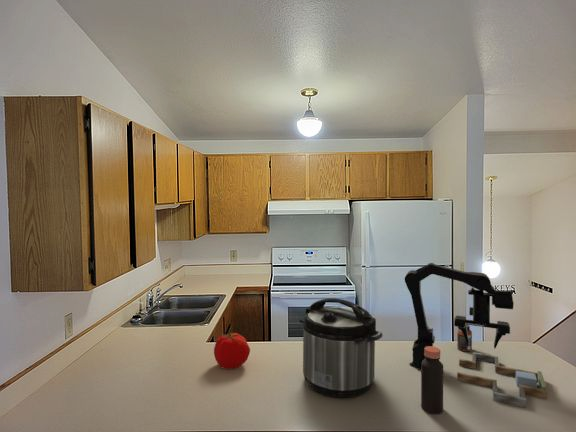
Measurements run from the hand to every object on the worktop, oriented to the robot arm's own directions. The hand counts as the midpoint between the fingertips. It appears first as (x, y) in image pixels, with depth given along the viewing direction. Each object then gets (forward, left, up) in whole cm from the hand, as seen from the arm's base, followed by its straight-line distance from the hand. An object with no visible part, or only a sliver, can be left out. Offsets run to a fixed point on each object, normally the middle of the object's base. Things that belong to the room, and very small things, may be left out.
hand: (481, 345), depth 138 cm
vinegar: (-35, -1, -12) cm, 37 cm away
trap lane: (+2, -6, -12) cm, 13 cm away
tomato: (-73, +67, -12) cm, 100 cm away
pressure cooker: (-46, +31, -12) cm, 57 cm away
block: (+6, -13, -12) cm, 19 cm away
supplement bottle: (+19, +16, -12) cm, 28 cm away
